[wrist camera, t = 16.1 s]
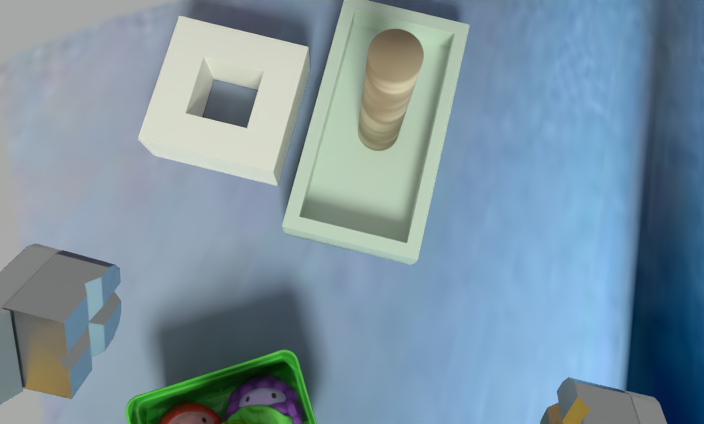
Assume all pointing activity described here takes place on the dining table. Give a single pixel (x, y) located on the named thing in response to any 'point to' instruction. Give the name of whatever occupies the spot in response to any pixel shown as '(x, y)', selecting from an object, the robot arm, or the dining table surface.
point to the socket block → (237, 68)
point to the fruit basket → (231, 396)
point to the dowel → (388, 86)
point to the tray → (368, 165)
